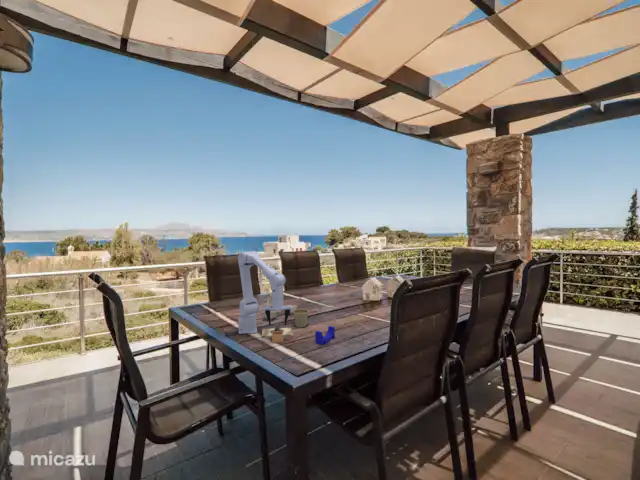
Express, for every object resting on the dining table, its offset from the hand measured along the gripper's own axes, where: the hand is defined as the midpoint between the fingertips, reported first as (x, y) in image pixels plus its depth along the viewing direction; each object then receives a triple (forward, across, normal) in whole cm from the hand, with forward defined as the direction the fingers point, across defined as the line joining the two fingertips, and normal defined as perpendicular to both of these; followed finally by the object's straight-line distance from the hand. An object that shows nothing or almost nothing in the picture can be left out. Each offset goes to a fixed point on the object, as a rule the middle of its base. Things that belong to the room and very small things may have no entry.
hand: (277, 324), depth 166 cm
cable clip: (+8, +24, -4) cm, 26 cm away
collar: (+8, 0, 0) cm, 8 cm away
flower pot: (+8, +14, +23) cm, 28 cm away
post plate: (+8, 0, +11) cm, 14 cm away
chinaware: (+8, +1, +47) cm, 48 cm away
